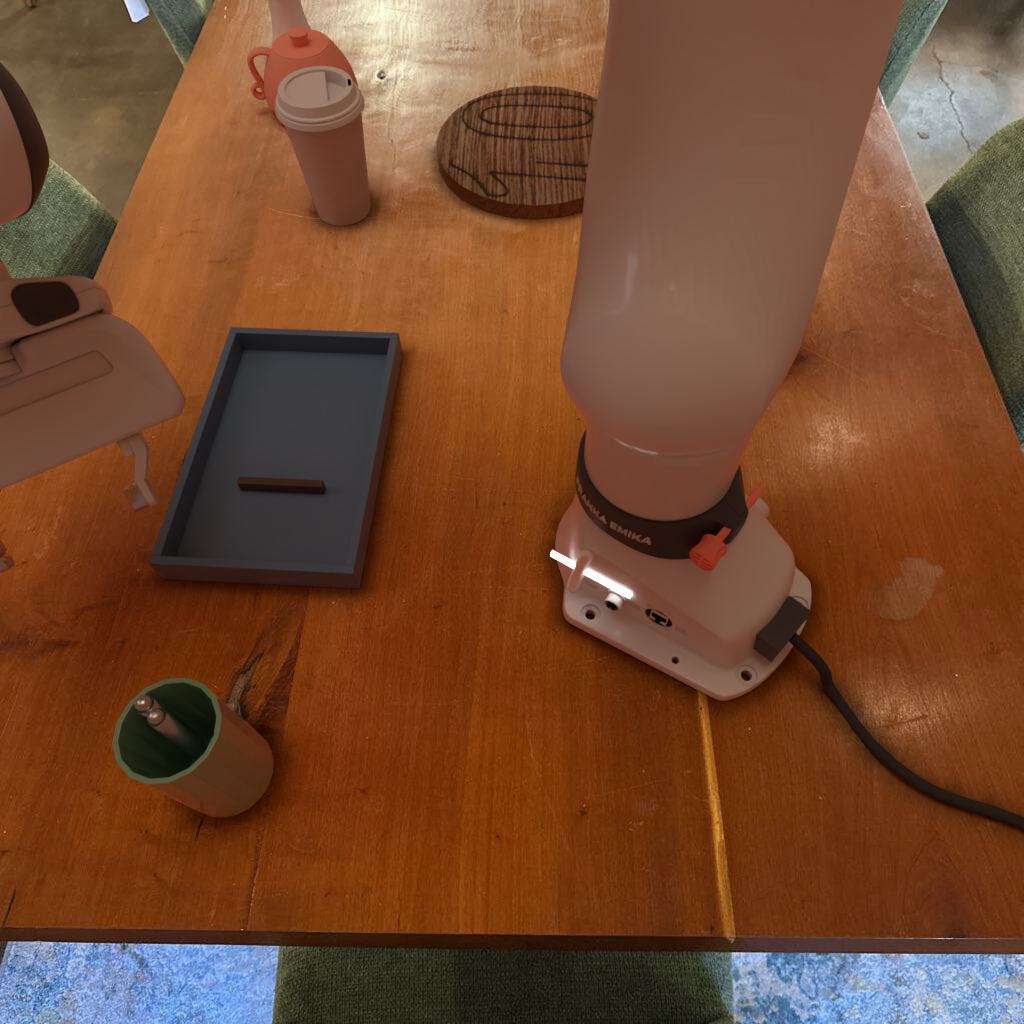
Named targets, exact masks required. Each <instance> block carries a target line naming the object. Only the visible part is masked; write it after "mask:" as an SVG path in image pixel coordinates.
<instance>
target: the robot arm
mask: <svg viewBox="0 0 1024 1024" xmlns="http://www.w3.org/2000/svg"><path fill="white" fill-rule="evenodd" d="M904 1H905V0H609V3H608V16H607V17H608V18H607V25H606V26H607V27H606V36H605V44H604V51H603V59H602V68H601V72H600V79H599V85H598V86H599V87H598V93H597V98H596V99H597V105H596V112H595V118H594V125H593V132H592V139H591V147H590V155H589V162H588V170H587V178H586V187H585V196H584V205H583V211H582V214H581V215H582V216H581V225H580V237H579V246H578V254H577V262H576V272H575V278H574V282H573V283H574V284H573V290H572V295H571V299H570V304H569V309H568V314H567V320H566V324H565V329H564V336H563V341H562V346H561V352H560V358H559V370H560V376H561V380H562V384H563V386H564V388H565V391H566V393H567V395H568V397H569V398H570V400H571V402H572V403H573V405H574V407H576V409H577V410H578V412H579V413H580V414H581V415H582V417H583V418H584V419H585V420H586V428H585V430H584V432H583V435H582V436H581V439H580V442H579V447H578V451H577V458H576V464H575V465H576V466H575V473H574V484H575V495H574V497H573V499H572V502H571V504H570V505H569V507H568V508H567V509H566V510H565V512H564V514H562V517H561V519H560V521H559V523H558V527H557V529H556V534H555V540H554V549H552V550H551V551H550V554H549V555H550V556H549V557H551V558H552V559H554V560H556V563H557V567H558V569H559V572H560V576H561V578H562V582H563V587H564V588H563V595H562V615H563V617H564V619H565V620H566V622H568V623H569V624H570V625H572V626H574V627H576V628H578V629H580V630H582V631H583V632H585V633H586V634H589V635H591V636H593V637H594V638H597V639H599V640H601V641H603V642H605V643H606V644H608V645H610V646H612V647H614V648H615V649H618V650H620V651H621V652H623V653H625V654H628V655H629V656H631V657H633V658H635V659H636V660H638V661H641V662H642V663H645V664H646V665H648V666H650V667H652V668H654V669H657V670H658V671H660V672H662V673H664V674H666V675H668V676H670V677H671V678H674V679H675V680H677V681H679V682H681V683H683V684H685V685H687V686H688V687H691V688H693V689H694V690H696V691H699V692H700V693H702V694H704V695H706V696H707V697H710V698H712V699H714V700H716V701H720V702H728V701H730V700H734V699H737V698H740V697H742V696H744V695H746V694H748V693H750V692H751V691H753V690H755V689H756V688H757V687H759V686H760V685H761V684H763V683H764V682H765V681H766V680H768V678H769V677H770V676H771V675H773V673H774V672H775V671H776V670H777V669H778V668H779V667H780V665H781V664H782V663H783V662H784V660H785V659H786V658H787V656H788V655H789V653H790V652H791V651H792V649H793V648H795V649H796V650H797V651H798V652H799V653H800V654H801V655H802V656H803V657H804V658H806V659H807V661H809V663H810V664H811V665H812V666H813V667H814V668H815V670H816V672H818V674H819V680H820V684H821V685H822V688H823V689H824V691H825V692H826V694H827V695H828V697H829V698H830V700H831V701H832V703H833V705H834V706H835V708H836V709H837V710H838V712H839V713H840V714H841V716H842V717H843V719H844V720H845V721H846V722H847V724H848V725H849V727H850V728H851V730H852V731H853V732H854V733H855V735H856V736H857V737H858V738H859V740H860V741H861V742H862V743H863V744H864V745H865V746H866V747H867V749H868V750H869V751H871V753H872V754H873V755H874V756H875V757H876V758H877V759H878V760H879V761H880V762H882V763H883V764H884V765H885V766H886V767H887V768H889V770H891V771H892V772H893V773H895V774H896V775H897V776H899V778H901V779H902V780H903V781H905V782H906V783H908V784H910V785H911V786H912V787H914V788H916V789H918V790H919V791H921V792H923V793H924V794H926V795H928V796H930V797H932V798H933V799H935V800H938V801H941V802H943V803H945V804H948V805H950V806H953V807H956V808H959V809H962V810H965V811H969V812H971V813H975V814H977V815H980V816H984V817H987V818H991V819H994V820H997V821H1000V822H1003V823H1005V824H1008V825H1010V826H1014V827H1016V828H1018V829H1021V830H1023V831H1024V816H1022V815H1021V814H1018V813H1015V812H1012V811H1010V810H1007V809H1005V808H1001V807H999V806H995V805H992V804H989V803H985V802H982V801H980V800H976V799H973V798H970V797H966V796H963V795H960V794H957V793H954V792H952V791H949V790H947V789H945V788H942V787H939V786H938V785H936V784H934V783H932V782H930V781H928V780H927V779H925V778H923V777H921V776H919V775H918V774H917V773H915V772H914V771H912V770H911V769H909V768H908V767H907V766H905V765H904V764H903V763H902V762H901V761H899V760H898V759H897V758H896V757H895V756H893V755H892V754H891V753H890V752H888V751H887V750H886V749H885V748H884V747H883V745H881V743H879V742H878V741H877V739H876V738H874V736H873V735H872V734H871V733H870V732H869V731H868V730H867V728H866V727H865V725H863V723H862V722H861V721H860V719H859V718H858V717H857V715H856V714H855V713H854V711H853V710H852V709H851V707H850V706H849V704H848V703H847V701H846V699H845V698H844V697H843V696H842V693H841V692H840V691H839V689H838V688H837V686H836V685H835V683H834V681H833V673H832V670H831V669H830V667H829V665H828V664H827V662H826V661H825V660H824V659H823V658H822V656H821V655H820V654H819V653H818V652H817V651H816V650H815V649H814V648H813V647H812V646H811V645H810V644H808V643H807V641H806V640H805V639H804V638H802V637H801V636H800V635H801V634H802V631H803V629H804V627H805V625H806V623H807V620H808V618H809V617H810V616H811V614H812V613H813V611H812V610H811V605H812V584H811V581H810V580H809V578H808V577H807V576H806V575H805V574H804V573H803V572H802V571H800V569H799V568H798V567H797V566H796V560H795V556H794V555H795V554H794V552H793V550H792V548H791V547H790V545H789V544H788V543H787V542H786V540H785V539H784V538H783V537H782V536H781V535H780V533H779V532H778V531H777V529H776V528H775V527H774V526H773V525H772V523H771V522H770V521H769V520H768V518H769V516H770V513H771V512H770V507H769V505H768V503H766V501H765V500H764V499H763V498H761V497H760V495H761V492H762V490H763V487H764V485H765V483H764V482H763V481H761V482H760V483H759V484H758V485H757V487H756V488H755V489H754V490H752V493H751V494H750V495H748V494H747V493H746V492H745V484H744V479H743V473H742V472H743V471H742V468H741V462H742V459H743V457H744V455H745V452H746V450H747V448H748V446H749V443H750V440H751V438H752V436H753V433H754V431H755V429H756V426H757V425H758V423H759V422H760V420H761V419H762V417H763V415H764V414H765V413H766V411H767V410H768V408H769V407H770V405H771V403H772V401H773V400H774V398H775V396H776V394H777V393H778V391H779V389H780V388H781V386H782V384H783V382H784V381H785V379H786V377H787V375H788V373H789V371H790V369H791V368H792V366H793V364H794V363H795V362H794V361H795V360H796V358H797V356H798V354H799V352H800V350H801V347H802V345H803V341H804V339H805V335H806V332H807V328H808V325H809V321H810V318H811V315H812V311H813V309H814V305H815V302H816V298H817V295H818V293H819V292H818V291H819V288H820V285H821V281H822V278H823V274H824V271H825V269H826V266H827V265H826V264H827V262H828V258H829V255H830V251H831V247H832V244H833V241H834V237H835V234H836V231H837V227H838V224H839V221H840V218H841V213H842V211H843V208H844V205H845V200H846V197H847V193H848V190H849V187H850V184H851V181H852V177H853V174H854V170H855V167H856V163H857V160H858V157H859V154H860V150H861V147H862V143H863V140H864V137H865V133H866V130H867V126H868V123H869V120H870V116H871V113H872V110H873V106H874V102H875V99H876V96H877V94H878V93H877V92H878V89H879V85H880V83H881V79H882V77H883V74H884V73H883V72H884V69H885V65H886V63H887V58H888V56H889V53H890V49H891V47H892V46H891V45H892V43H893V39H894V35H895V33H896V28H897V25H898V22H899V19H900V15H901V12H902V10H903V9H902V8H903V5H904ZM45 137H46V136H45V133H44V132H43V128H42V126H41V124H40V121H39V118H38V117H37V114H36V113H35V110H34V108H33V106H32V104H31V102H30V101H29V99H28V97H27V95H26V93H25V92H24V90H23V88H22V87H21V85H20V84H19V82H18V80H16V79H15V77H14V76H13V75H12V73H11V72H10V71H9V70H8V69H7V68H6V67H5V65H4V64H3V63H2V62H1V61H0V226H3V225H5V224H7V223H10V222H11V221H14V220H17V219H19V218H21V217H23V216H25V215H27V214H28V213H29V212H30V211H31V210H32V208H33V207H34V205H35V204H36V202H37V200H38V199H39V197H40V194H41V192H42V189H43V187H44V184H45V183H46V182H45V181H46V178H47V174H48V171H49V168H50V152H49V148H48V143H47V140H46V138H45ZM113 307H114V306H113V303H112V300H111V298H110V296H109V294H108V291H107V290H106V289H105V288H104V286H102V284H101V283H99V282H97V281H96V280H94V279H92V278H89V277H86V276H83V275H58V276H57V275H56V276H55V275H54V276H37V277H17V278H16V277H15V278H14V277H12V275H11V273H10V271H9V270H8V268H7V266H6V264H5V263H4V261H3V260H2V258H0V491H2V490H4V489H6V488H9V487H11V486H13V485H16V484H18V483H20V482H21V483H22V482H23V481H25V480H28V479H30V478H32V477H35V476H38V475H40V474H43V473H45V472H47V471H50V470H52V469H55V468H56V467H59V466H61V465H64V464H66V463H69V462H72V461H74V460H76V459H79V458H82V457H83V456H86V455H88V454H90V453H93V452H95V451H98V450H100V449H103V448H105V447H107V446H109V445H112V444H114V443H116V444H117V446H118V447H119V449H120V451H121V452H122V454H123V456H124V457H125V458H129V457H131V456H133V455H134V468H133V469H134V470H133V482H132V483H129V484H127V485H125V486H124V487H123V488H122V489H121V491H122V492H123V495H124V496H125V499H127V500H128V501H130V507H131V508H132V510H133V511H134V512H135V513H136V514H137V513H140V512H142V511H143V510H146V509H149V508H150V507H152V506H153V507H154V506H155V505H157V504H159V503H160V502H159V500H160V499H159V498H158V495H157V494H156V492H155V489H154V488H153V487H152V485H151V483H150V481H149V479H148V477H149V463H150V445H149V443H148V441H147V440H146V438H145V436H144V434H143V431H146V430H148V429H151V428H153V427H156V426H158V425H160V424H162V423H165V422H167V421H170V420H172V419H174V418H177V417H179V416H181V415H182V414H183V411H184V410H185V406H186V401H187V398H186V395H185V393H184V391H183V390H182V388H181V386H180V384H179V382H178V380H177V379H176V378H175V376H174V375H173V373H172V372H171V370H170V368H169V367H168V364H166V362H165V361H164V360H163V358H162V356H161V355H160V353H159V352H158V351H157V350H156V348H155V347H154V346H153V344H152V343H151V342H150V341H149V339H148V338H147V337H146V336H145V335H144V333H143V332H141V331H140V330H139V329H138V328H137V327H136V326H135V325H134V324H132V323H130V322H129V321H127V320H125V319H124V318H122V317H119V316H116V315H114V314H113V311H114V308H113ZM14 560H15V559H14V558H13V557H12V555H11V554H9V553H7V547H6V546H5V544H4V543H3V541H2V540H1V539H0V574H2V573H4V572H6V571H9V570H11V569H12V568H14V566H15V561H14ZM589 614H590V615H593V617H594V618H592V619H591V618H588V617H586V615H589ZM673 661H674V662H675V663H674V662H673ZM742 674H745V675H747V676H748V678H749V680H745V679H744V678H743V677H742Z"/></svg>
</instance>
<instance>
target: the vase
mask: <svg viewBox="0 0 1024 1024" xmlns="http://www.w3.org/2000/svg"><path fill="white" fill-rule="evenodd" d="M266 1H267V4H268V8H269V13H270V20H271V29H272V33H271V34H272V37H271V38H272V39H271V45H270V47H269V48H270V49H271V47H272V44H273V42H274V41H275V40H276V39H277V38H278V37H279V36H281V35H282V34H284V33H287V32H288V31H289V30H290V29H292V28H294V27H304V28H306V29H312V28H311V26H310V24H309V22H308V19H307V17H306V14H305V11H304V9H303V6H302V2H301V0H266Z"/></svg>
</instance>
